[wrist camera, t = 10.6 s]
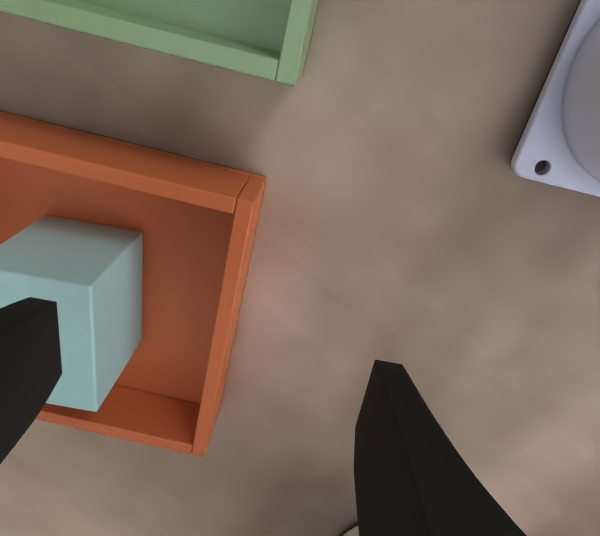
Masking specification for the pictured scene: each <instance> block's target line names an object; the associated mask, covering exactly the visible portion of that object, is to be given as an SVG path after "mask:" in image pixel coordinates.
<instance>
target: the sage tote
mask: <svg viewBox="0 0 600 536" xmlns="http://www.w3.org/2000/svg"><path fill="white" fill-rule="evenodd" d="M318 1H319V0H0V12H4V13H8V14H12V15H16V16H20V17H24V18H28V19H32V20H36V21H40V22H43V23H47V24H51V25H55V26H59V27H63V28H67V29H71V30H75V31H79V32H83V33H87V34H91V35H95V36H98V37H102V38H106V39H110V40H114V41H118V42H122V43H126V44H130V45H134V46H138V47H142V48H146V49H150V50H154V51H157V52H161V53H165V54H169V55H173V56H177V57H181V58H185V59H189V60H193V61H197V62H201V63H205V64H209V65H212V66H216V67H220V68H224V69H228V70H232V71H236V72H240V73H244V74H248V75H252V76H256V77H260V78H264V79H267V80H271V81H274V80H276V82H279V83H283V84H287V85H291V86H294V85H295V84H296V83H297V81H298V80H299V79H300V77H301V76H302V75H303V70H304V66H305V61H306V57H307V52H308V47H309V43H310V38H311V34H312V29H313V24H314V20H315V15H316V11H317V6H318Z"/></svg>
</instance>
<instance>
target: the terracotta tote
mask: <svg viewBox="0 0 600 536" xmlns="http://www.w3.org/2000/svg"><path fill="white" fill-rule="evenodd" d="M266 179H267V178H266V177H265V176H261V175H257V174H253V173H249V172H245V171H241V170H237V169H233V168H229V167H225V166H221V165H217V164H213V163H209V162H204V161H200V160H196V159H192V158H188V157H184V156H180V155H176V154H172V153H168V152H164V151H160V150H156V149H152V148H148V147H144V146H140V145H136V144H132V143H128V142H124V141H120V140H116V139H112V138H108V137H104V136H100V135H96V134H91V133H87V132H83V131H79V130H75V129H71V128H67V127H63V126H59V125H55V124H51V123H47V122H43V121H39V120H35V119H31V118H27V117H23V116H19V115H15V114H11V113H7V112H3V111H0V244H2V243H3V242H5V241H6V240H8V239H9V238H11V237H13V236H14V235H16V234H17V233H19V232H20V231H22V230H23V229H25V228H26V227H28V226H29V225H31V224H32V223H34V222H35V221H37V220H38V219H40V218H41V217H43V216H45V215H49V216H55V217H61V218H66V219H72V220H78V221H83V222H89V223H95V224H100V225H106V226H112V227H117V228H123V229H129V230H134V231H140V232H142V233H143V268H142V341H141V342H140V344H139V345H138V347H137V349H136V350H135V352H134V353H133V355H132V356H131V358H130V360H129V361H128V363H127V364H126V366H125V368H124V369H123V371H122V372H121V374H120V376H119V377H118V379H117V380H116V382H115V383H114V385H113V387H112V388H111V390H110V391H109V393H108V395H107V396H106V398H105V399H104V401H103V403H102V404H101V406H100V407H99V409H98V410H97V411H96V412H93V411H88V410H82V409H76V408H71V407H65V406H59V405H54V404H48V403H45V405H44V406H43V408H42V410H41V411H40V413H39V414H38V416H37V417H36V418H35V419H39V420H43V421H47V422H52V423H56V424H61V425H65V426H69V427H74V428H78V429H83V430H87V431H91V432H96V433H100V434H104V435H109V436H113V437H118V438H122V439H126V440H131V441H135V442H140V443H144V444H148V445H153V446H157V447H162V448H166V449H170V450H175V451H179V452H184V453H188V454H191V452H192V454H193V455H197V456H201V457H204V456H205V453H206V450H207V447H208V444H209V441H210V438H211V434H212V431H213V428H214V425H215V422H216V419H217V415H218V413H219V409H220V404H221V399H222V394H223V390H224V385H225V380H226V375H227V370H228V365H229V360H230V355H231V350H232V345H233V341H234V336H235V331H236V326H237V321H238V316H239V311H240V306H241V301H242V296H243V292H244V287H245V282H246V277H247V272H248V267H249V262H250V257H251V252H252V247H253V242H254V238H255V233H256V228H257V223H258V218H259V213H260V208H261V203H262V198H263V193H264V189H265V184H266Z"/></svg>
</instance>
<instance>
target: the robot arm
mask: <svg viewBox="0 0 600 536" xmlns="http://www.w3.org/2000/svg"><path fill="white" fill-rule="evenodd" d="M542 160H546V167H545V168H544V169H543V170H542V171H540V172H535V170H534V169H535V165H536V164H537V163H538V162H540V161H542ZM511 167H512V170H513V171H514V172H515V173H516V174H517V175H518V176H520V177H523V178H526V179H530V180H534V181H538V182H542V183H546V184H550V185H554V186H558V187H562V188H566V189H570V190H574V191H578V192H582V193H586V194H590V195H594V196H598V197H600V0H581V2H580V4H579V6H578V9H577V11H576V13H575V16H574V18H573V20H572V22H571V25H570V27H569V29H568V32H567V34H566V36H565V38H564V41H563V43H562V45H561V48H560V50H559V52H558V54H557V57H556V59H555V61H554V64H553V66H552V68H551V70H550V73H549V75H548V77H547V80H546V82H545V84H544V86H543V89H542V91H541V93H540V96H539V98H538V100H537V102H536V105H535V107H534V109H533V112H532V114H531V116H530V118H529V121H528V123H527V125H526V128H525V130H524V132H523V134H522V137H521V139H520V141H519V144H518V146H517V148H516V150H515V153H514V155H513V157H512V161H511ZM61 375H62V363H61V350H60V337H59V324H58V312H57V302H55V301H50V300H44V299H39V298H33V297H28V298H25V299H23V300H20V301H17V302H14V303H12V304H10V305H7V306H5V307H2V308H0V464H1V462H2V461H3V460H4V459H5V457H6V456H7V455H8V454H9V452H10V451H11V450H12V448H13V447H14V446H15V445H16V443H17V442H18V441H19V439H20V438H21V437H22V435H23V434H24V433H25V432H26V430H27V429H28V428H29V426H30V425H31V424H32V422H33V421H34V420H35V418H36V417H37V416H38V414H39V413H40V411H41V410H42V408H43V406H44V405H45V403H46V401H47V400H48V398H49V396H50V395H51V393H52V391H53V389H54V388H55V386H56V384H57V382H58V380H59V379H60V377H61ZM354 479H355V493H356V506H357V518H358V530H359V536H526V535H525V533H524V532H523V531H522V530H521V529H520V528H519V527H518V526H517V525H516V524H515V523H514V522H513V520H512V519H511V518H510V517H509V516H508V515H507V513H506V512H505V511H504V510H503V509H502V508H501V506H500V505H499V504H498V503H497V502H496V501H495V500H494V498H493V497H492V496H491V495H490V494H489V493H488V491H487V490H486V489H485V488H484V486H483V485H482V484H481V483H480V481H479V480H478V479H477V478H476V476H475V475H474V474H473V472H472V471H471V470H470V468H469V467H468V466H467V464H466V463H465V462H464V460H463V459H462V458H461V456H460V455H459V453H458V452H457V451H456V449H455V448H454V446H453V445H452V443H451V442H450V440H449V439H448V437H447V436H446V434H445V433H444V431H443V430H442V428H441V427H440V425H439V424H438V422H437V421H436V419H435V418H434V416H433V414H432V413H431V411H430V410H429V408H428V406H427V405H426V403H425V402H424V400H423V398H422V397H421V395H420V393H419V392H418V390H417V388H416V387H415V385H414V383H413V381H412V380H411V378H410V376H409V375H408V373H407V371H406V370H405V368H404V367H403V365H402V364H396V363H391V362H385V361H380V360H375V362H374V365H373V369H372V372H371V375H370V379H369V382H368V386H367V389H366V393H365V396H364V399H363V403H362V406H361V410H360V413H359V416H358V420H357V423H356V427H355V448H354Z"/></svg>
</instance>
